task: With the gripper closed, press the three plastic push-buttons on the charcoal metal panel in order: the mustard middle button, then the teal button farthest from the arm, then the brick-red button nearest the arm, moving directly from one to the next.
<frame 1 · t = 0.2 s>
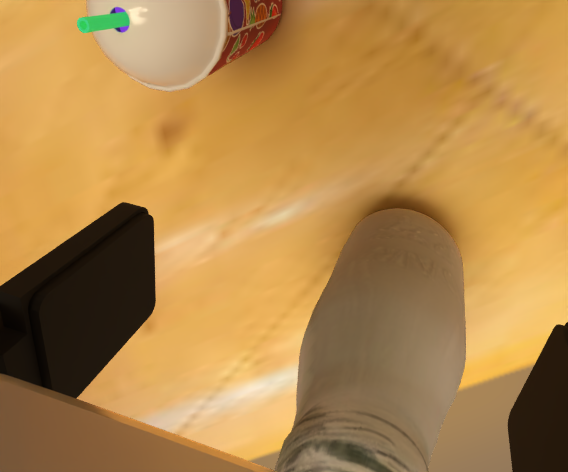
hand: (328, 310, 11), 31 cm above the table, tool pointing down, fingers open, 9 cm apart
grey bottle: (402, 240, 44), on the table
smoothie: (247, 0, 39), on the table
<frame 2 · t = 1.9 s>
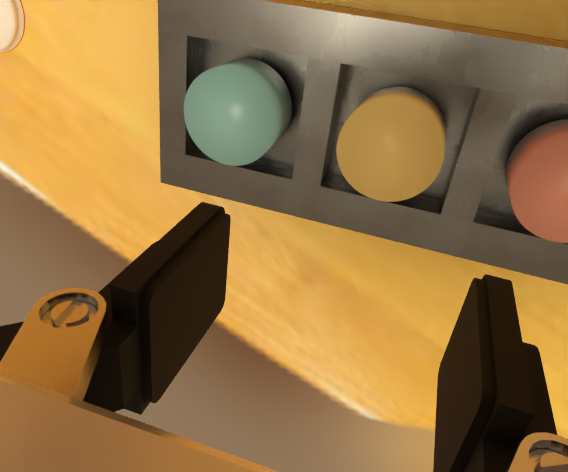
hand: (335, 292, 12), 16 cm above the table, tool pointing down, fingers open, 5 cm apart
button panel: (399, 124, 25), on the table
brick button: (567, 180, 21), point 3 cm above the table, slide at 0.0 cm
teal button: (239, 111, 24), point 3 cm above the table, slide at 0.0 cm
mustard button: (392, 143, 22), point 3 cm above the table, slide at 0.0 cm
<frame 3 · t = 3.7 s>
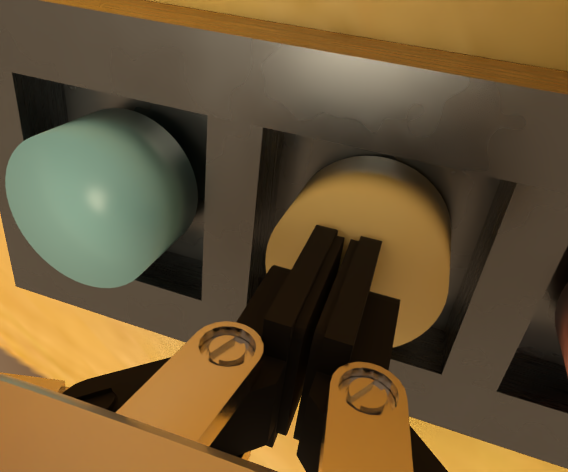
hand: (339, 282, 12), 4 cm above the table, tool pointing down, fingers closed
button panel: (375, 212, 15), on the table
teal button: (106, 197, 14), point 3 cm above the table, slide at 0.0 cm
mustard button: (361, 252, 13), point 3 cm above the table, slide at 0.7 cm, touching gripper
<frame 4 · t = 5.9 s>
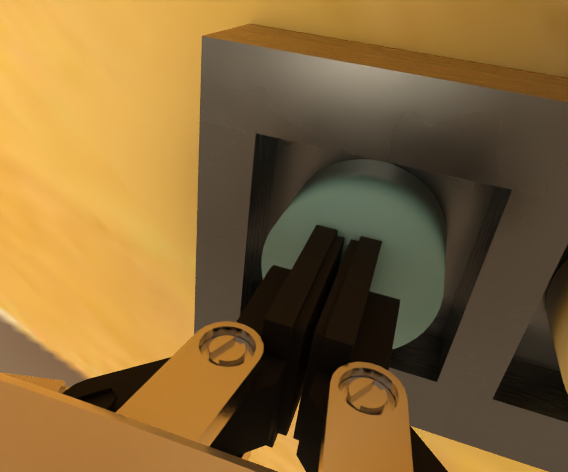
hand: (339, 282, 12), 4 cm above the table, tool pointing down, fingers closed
teal button: (356, 255, 13), point 2 cm above the table, slide at 0.9 cm, touching gripper
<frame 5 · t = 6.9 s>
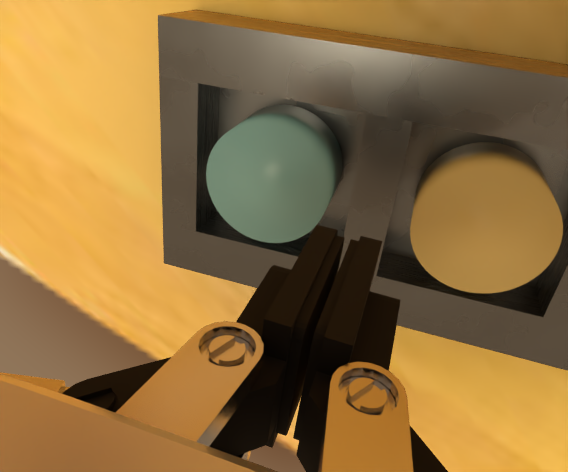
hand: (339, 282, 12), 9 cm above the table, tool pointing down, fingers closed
button panel: (477, 191, 19), on the table
teal button: (276, 173, 18), point 2 cm above the table, slide at 0.9 cm
mustard button: (480, 217, 17), point 2 cm above the table, slide at 0.9 cm
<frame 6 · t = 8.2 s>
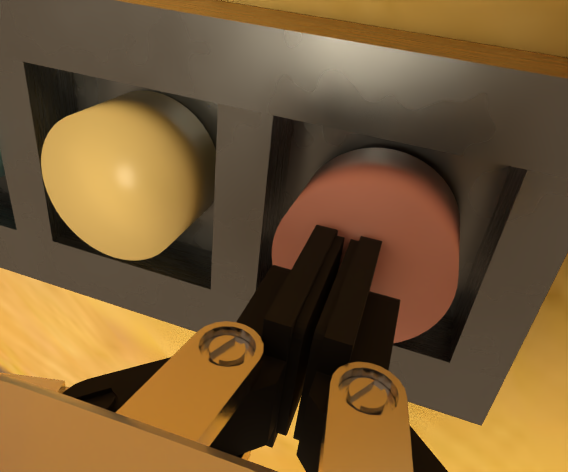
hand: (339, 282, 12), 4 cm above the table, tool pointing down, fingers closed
button panel: (173, 150, 17), on the table
brick button: (368, 245, 13), point 3 cm above the table, slide at 0.4 cm, touching gripper
mustard button: (134, 175, 15), point 2 cm above the table, slide at 0.9 cm
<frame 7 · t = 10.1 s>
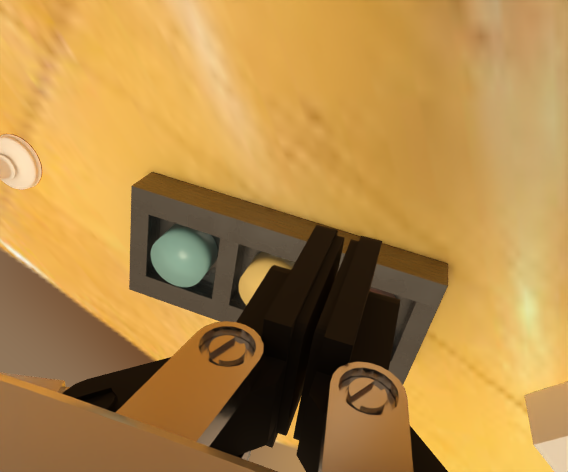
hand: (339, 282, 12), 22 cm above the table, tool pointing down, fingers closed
button panel: (280, 267, 40), on the table
chess piece: (19, 160, 43), on the table
brick button: (365, 314, 37), point 2 cm above the table, slide at 0.9 cm
teal button: (184, 254, 39), point 2 cm above the table, slide at 0.9 cm
mustard button: (272, 283, 38), point 2 cm above the table, slide at 0.9 cm
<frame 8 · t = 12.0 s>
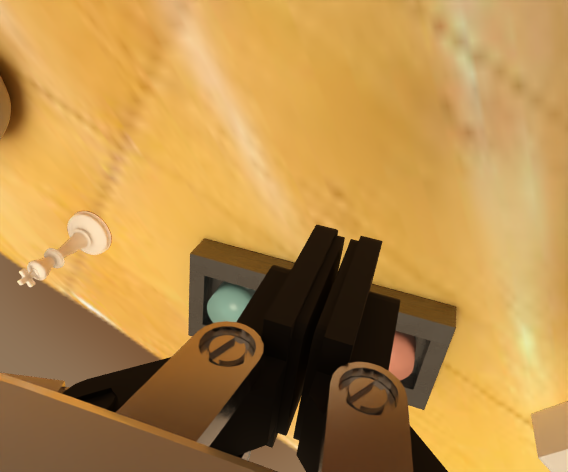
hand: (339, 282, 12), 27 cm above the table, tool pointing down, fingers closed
button panel: (315, 312, 47), on the table
chess piece: (92, 231, 52), on the table
brick button: (388, 351, 44), point 2 cm above the table, slide at 0.9 cm
teal button: (234, 305, 47), point 2 cm above the table, slide at 0.9 cm
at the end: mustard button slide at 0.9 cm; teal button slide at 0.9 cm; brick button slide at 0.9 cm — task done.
